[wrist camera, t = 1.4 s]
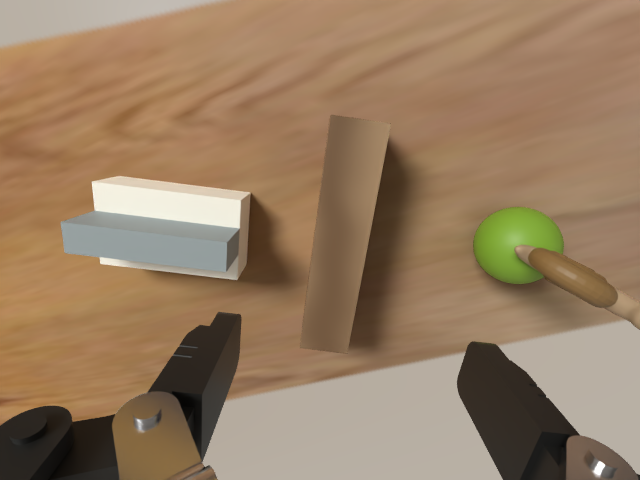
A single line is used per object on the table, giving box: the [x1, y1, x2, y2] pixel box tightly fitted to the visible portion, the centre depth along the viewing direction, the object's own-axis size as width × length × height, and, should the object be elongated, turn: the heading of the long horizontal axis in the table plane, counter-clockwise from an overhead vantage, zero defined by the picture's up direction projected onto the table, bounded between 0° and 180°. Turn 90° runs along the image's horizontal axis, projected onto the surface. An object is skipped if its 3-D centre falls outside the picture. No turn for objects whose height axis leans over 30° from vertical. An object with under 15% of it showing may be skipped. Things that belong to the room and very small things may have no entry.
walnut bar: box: [300, 115, 391, 354], centre depth 23 cm, size 4×16×5 cm, turn 173°
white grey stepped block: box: [61, 176, 251, 280], centre depth 22 cm, size 10×6×6 cm, turn 83°
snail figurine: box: [473, 207, 640, 330], centre depth 20 cm, size 5×6×12 cm
